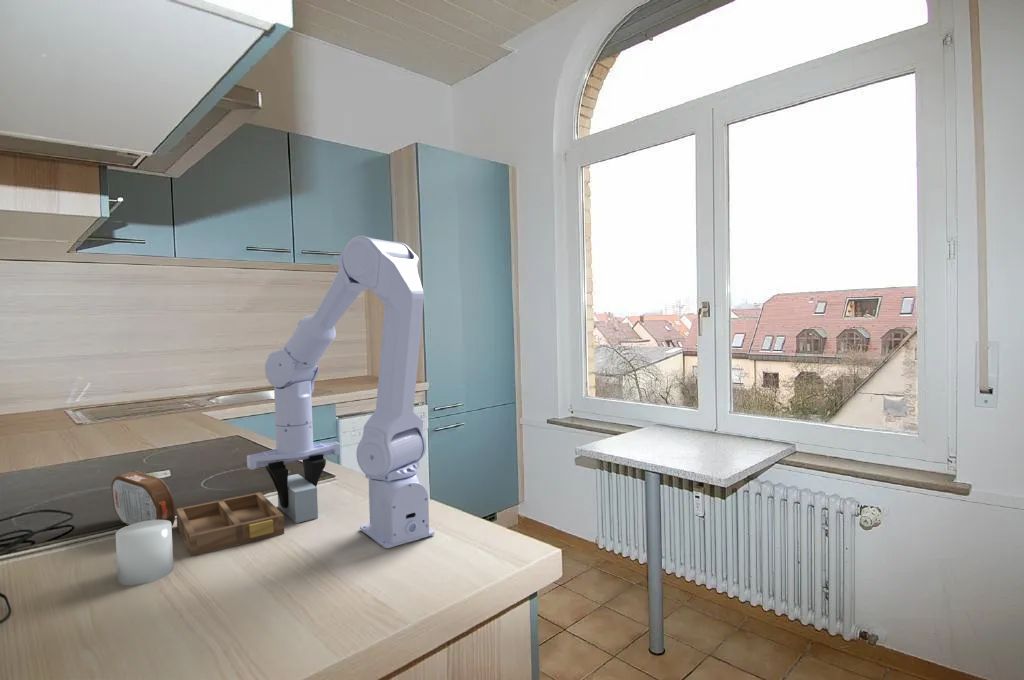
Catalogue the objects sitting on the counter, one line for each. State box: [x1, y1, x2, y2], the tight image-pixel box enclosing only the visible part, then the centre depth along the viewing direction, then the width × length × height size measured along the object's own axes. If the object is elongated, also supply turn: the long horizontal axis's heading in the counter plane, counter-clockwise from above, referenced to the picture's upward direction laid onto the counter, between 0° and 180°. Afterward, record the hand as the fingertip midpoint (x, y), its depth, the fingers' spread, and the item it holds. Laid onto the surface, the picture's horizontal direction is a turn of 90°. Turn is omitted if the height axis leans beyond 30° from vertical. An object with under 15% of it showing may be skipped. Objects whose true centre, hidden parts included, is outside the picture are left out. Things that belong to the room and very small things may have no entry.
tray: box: [175, 491, 285, 557], centre depth 86 cm, size 15×12×3 cm
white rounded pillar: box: [115, 520, 175, 586], centre depth 72 cm, size 6×6×6 cm
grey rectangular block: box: [277, 473, 319, 524], centre depth 93 cm, size 10×4×5 cm, turn 38°
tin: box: [110, 470, 176, 527], centre depth 87 cm, size 15×3×8 cm, turn 58°
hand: (297, 503), depth 93 cm, fingers closed on grey rectangular block, 3 cm apart
